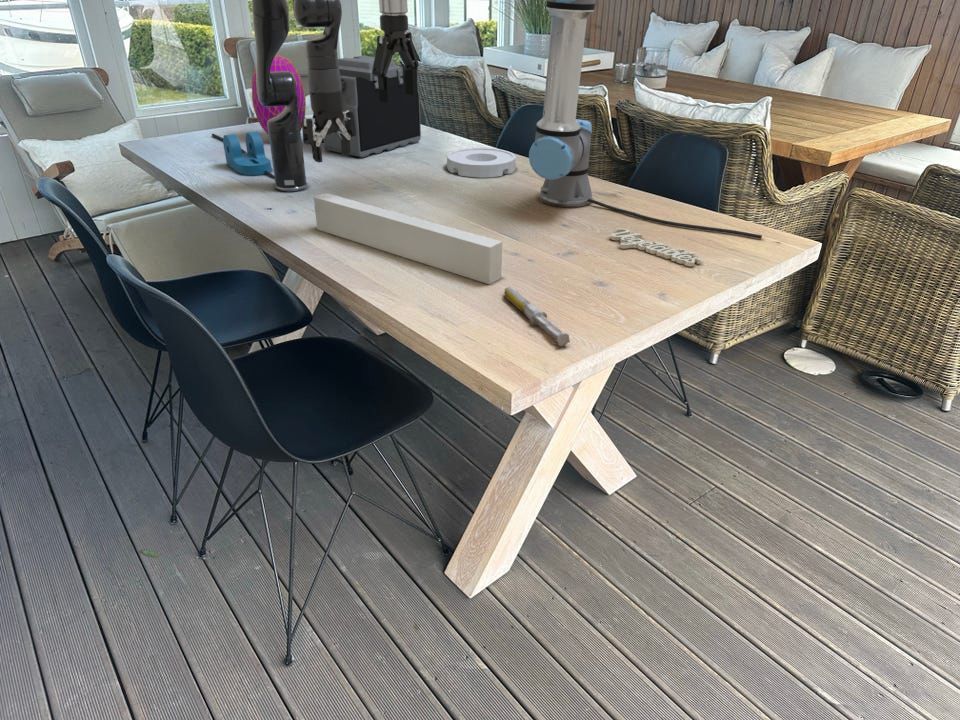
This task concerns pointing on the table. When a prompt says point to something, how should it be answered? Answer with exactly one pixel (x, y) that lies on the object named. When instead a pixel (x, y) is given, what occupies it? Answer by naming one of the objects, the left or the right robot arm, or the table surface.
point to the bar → (411, 237)
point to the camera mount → (246, 154)
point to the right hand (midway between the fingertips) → (397, 98)
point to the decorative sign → (653, 247)
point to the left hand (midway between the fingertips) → (332, 158)
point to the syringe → (536, 316)
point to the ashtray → (481, 162)
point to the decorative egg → (270, 112)
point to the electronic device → (376, 108)
